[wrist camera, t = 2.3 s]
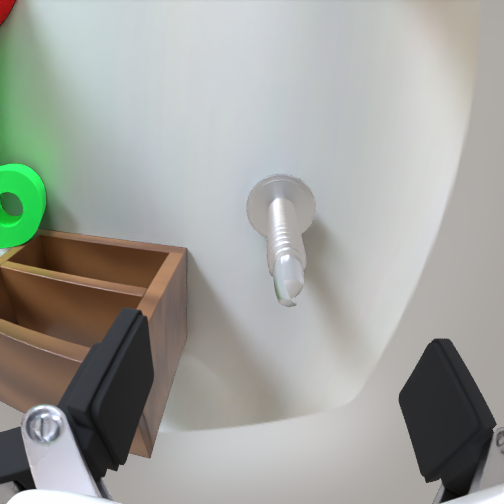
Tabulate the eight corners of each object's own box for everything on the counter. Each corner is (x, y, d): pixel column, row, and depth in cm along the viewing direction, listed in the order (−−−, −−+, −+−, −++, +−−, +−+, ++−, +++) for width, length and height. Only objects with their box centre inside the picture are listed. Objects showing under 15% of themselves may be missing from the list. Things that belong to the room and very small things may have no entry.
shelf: (38, 228, 26) (-57, 306, 13) (187, 247, 26) (124, 374, 13) (55, 309, 30) (-9, 396, 18) (186, 337, 30) (150, 459, 18)
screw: (293, 157, 22) (322, 212, 24) (236, 187, 23) (267, 239, 25) (323, 219, 10) (366, 318, 12) (203, 276, 12) (264, 358, 13)
